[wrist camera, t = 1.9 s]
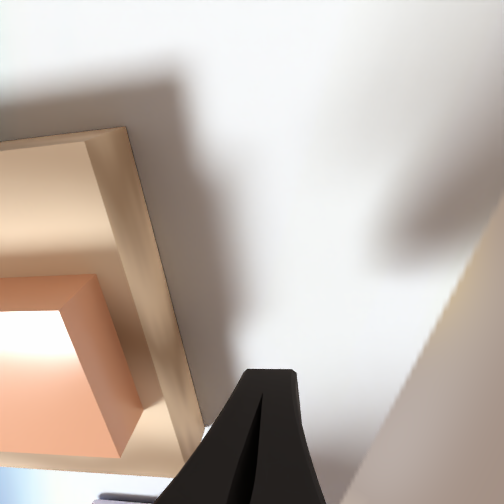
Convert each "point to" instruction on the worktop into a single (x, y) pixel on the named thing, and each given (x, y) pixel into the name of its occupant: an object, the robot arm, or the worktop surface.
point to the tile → (62, 370)
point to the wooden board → (102, 281)
